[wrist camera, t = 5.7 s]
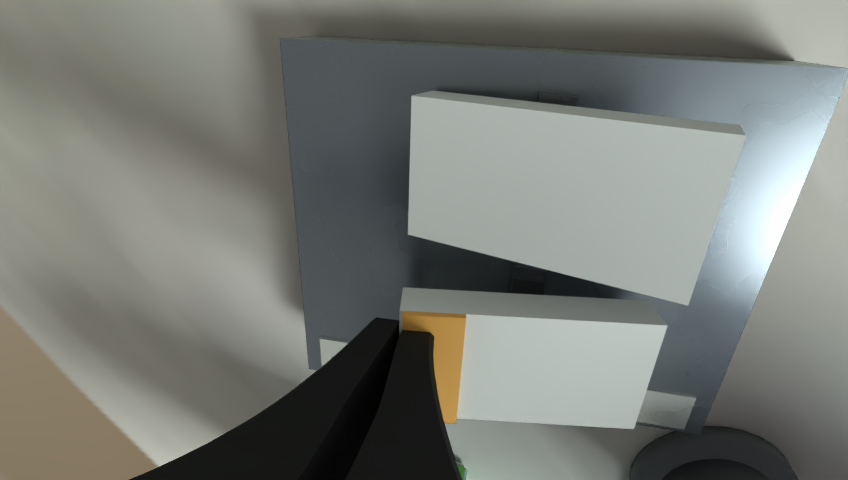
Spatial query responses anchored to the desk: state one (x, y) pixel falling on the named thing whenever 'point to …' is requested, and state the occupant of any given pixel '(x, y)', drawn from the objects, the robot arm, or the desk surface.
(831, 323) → the desk surface
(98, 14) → the desk surface
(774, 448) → the cord post
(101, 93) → the desk surface
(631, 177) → the grey paddle
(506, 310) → the orange-tipped paddle
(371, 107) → the panel
